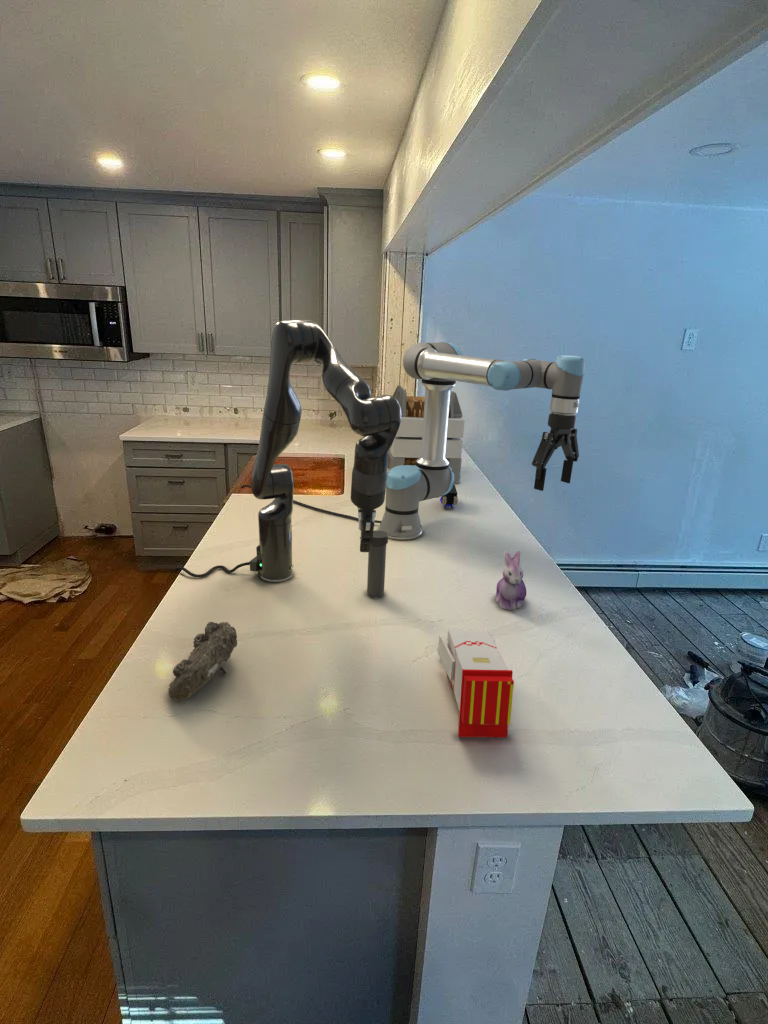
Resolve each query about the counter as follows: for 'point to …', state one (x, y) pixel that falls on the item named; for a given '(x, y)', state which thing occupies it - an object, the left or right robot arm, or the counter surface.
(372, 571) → the jar
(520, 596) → the figurine
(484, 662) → the toy
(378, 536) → the lid
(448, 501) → the figurine character
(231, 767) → the counter surface
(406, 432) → the white slatted crate
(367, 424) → the left robot arm
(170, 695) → the fossil
